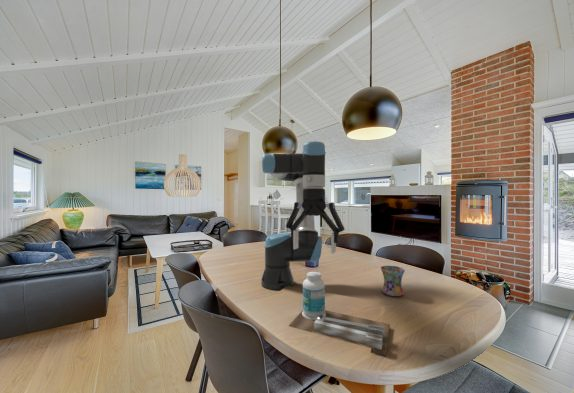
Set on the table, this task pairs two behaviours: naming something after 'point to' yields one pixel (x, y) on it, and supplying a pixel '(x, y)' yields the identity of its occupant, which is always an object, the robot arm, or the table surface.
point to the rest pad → (310, 317)
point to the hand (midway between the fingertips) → (314, 250)
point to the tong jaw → (353, 325)
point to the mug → (392, 280)
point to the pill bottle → (313, 295)
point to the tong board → (329, 314)
